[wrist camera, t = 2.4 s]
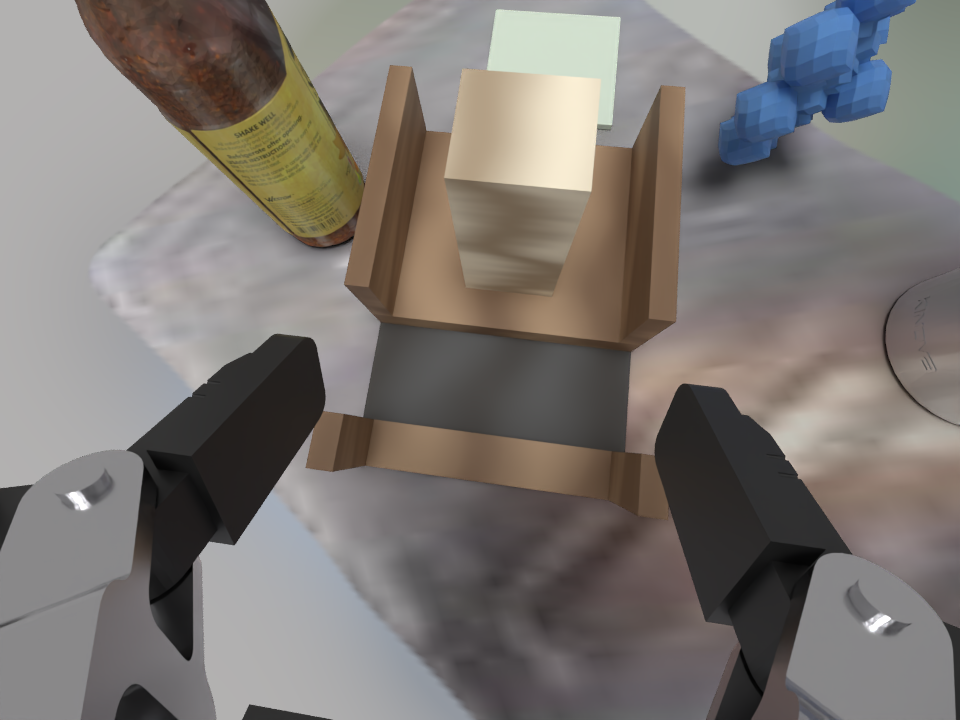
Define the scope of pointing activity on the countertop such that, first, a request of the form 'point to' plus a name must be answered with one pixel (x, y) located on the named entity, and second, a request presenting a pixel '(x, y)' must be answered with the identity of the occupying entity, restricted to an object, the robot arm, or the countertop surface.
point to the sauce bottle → (238, 104)
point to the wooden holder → (509, 322)
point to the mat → (559, 49)
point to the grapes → (814, 77)
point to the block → (520, 175)
